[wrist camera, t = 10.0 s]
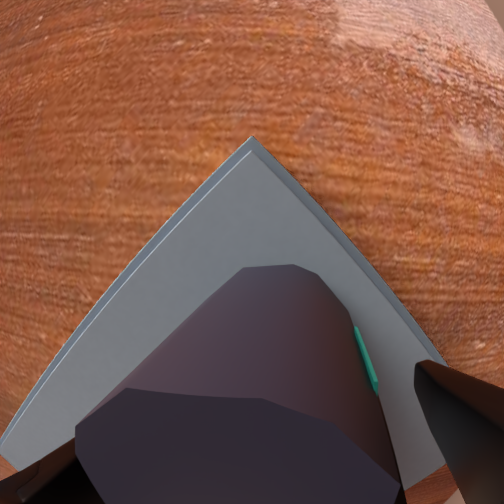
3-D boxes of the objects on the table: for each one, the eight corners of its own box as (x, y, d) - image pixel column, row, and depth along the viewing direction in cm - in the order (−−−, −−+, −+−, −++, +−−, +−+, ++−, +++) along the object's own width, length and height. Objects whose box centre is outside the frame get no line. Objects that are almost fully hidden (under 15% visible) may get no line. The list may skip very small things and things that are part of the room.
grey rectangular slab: (254, 142, 13) (251, 133, 10) (472, 405, 16) (490, 431, 13) (8, 431, 19) (-7, 449, 16) (183, 547, 22) (179, 567, 20)
